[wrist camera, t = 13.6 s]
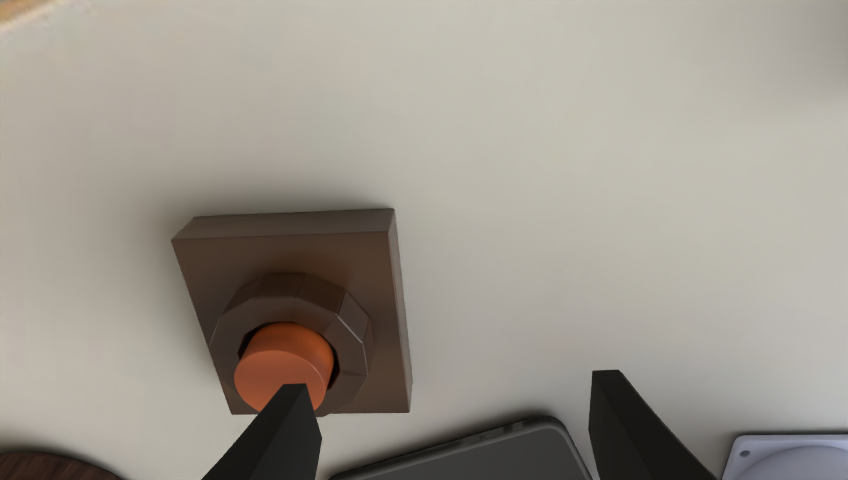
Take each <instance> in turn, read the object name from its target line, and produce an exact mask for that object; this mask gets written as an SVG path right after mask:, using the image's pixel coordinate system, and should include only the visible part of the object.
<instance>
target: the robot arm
mask: <svg viewBox="0 0 848 480" xmlns="http://www.w3.org/2000/svg"><path fill="white" fill-rule="evenodd" d="M588 430H589V435H590V440H591V444H592V449H593V453H594V458H595V462H596V466H597V470H598V474H599V477H600V480H718V479H717V478H716V477H715V476H714V475H713V474H712V473H711V472H710V471H709V470H708V469H707V468H706V467H705V466H704V465H703V464H702V463H701V462H700V461H699V460H698V459H697V458H696V457H695V456H694V455H693V454H692V453H691V452H690V451H689V450H688V449H687V448H686V447H685V446H684V445H683V444H682V443H681V441H680V440H679V439H678V438H677V437H676V436H675V435H674V434H673V433H672V432H671V431H670V429H669V428H668V427H667V426H666V425H665V424H664V423H663V422H662V421H661V419H660V418H659V417H658V416H657V415H656V414H655V413H654V411H653V410H652V409H651V408H650V407H649V405H648V404H647V403H646V402H645V401H644V400H643V398H642V397H641V396H640V395H639V393H638V392H637V391H636V390H635V389H634V387H633V386H632V385H631V383H630V382H629V381H628V380H627V378H626V377H625V376H624V375H623V373H622V372H620V371H619V370H600V371H593V372H592V386H591V400H590V414H589V428H588ZM321 441H322V437H321V433H320V430H319V426H318V423H317V419H316V416H315V412H314V409H313V405H312V402H311V398H310V395H309V391H308V388H307V385H306V383H297V384H283V385H282V386H281V387H280V388H279V390H278V391H277V392H276V393H275V394H274V396H273V397H272V398H271V399H270V400H269V402H268V403H267V404H266V405H265V407H264V408H263V409H262V410H261V412H260V413H259V414H258V415H257V416H256V418H255V419H254V420H253V421H252V423H251V424H250V425H249V426H248V427H247V429H246V430H245V431H244V432H243V433H242V434H241V436H240V437H239V438H238V439H237V440H236V442H235V443H234V444H233V445H232V446H231V447H230V449H229V450H228V451H227V452H226V453H225V454H224V455H223V457H222V458H221V459H220V460H219V461H218V462H217V463H216V464H215V465H214V466H213V467H212V469H211V470H210V471H209V472H208V473H207V474H206V475H205V476H204V477H203V478H202V479H201V480H315V476H316V471H317V466H318V460H319V454H320V447H321ZM722 480H848V435H744V436H740V437H738V438H737V439H736V440H735V441H734V444H733V447H732V450H731V453H730V456H729V459H728V462H727V466H726V469H725V472H724V475H723V478H722Z"/></svg>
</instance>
